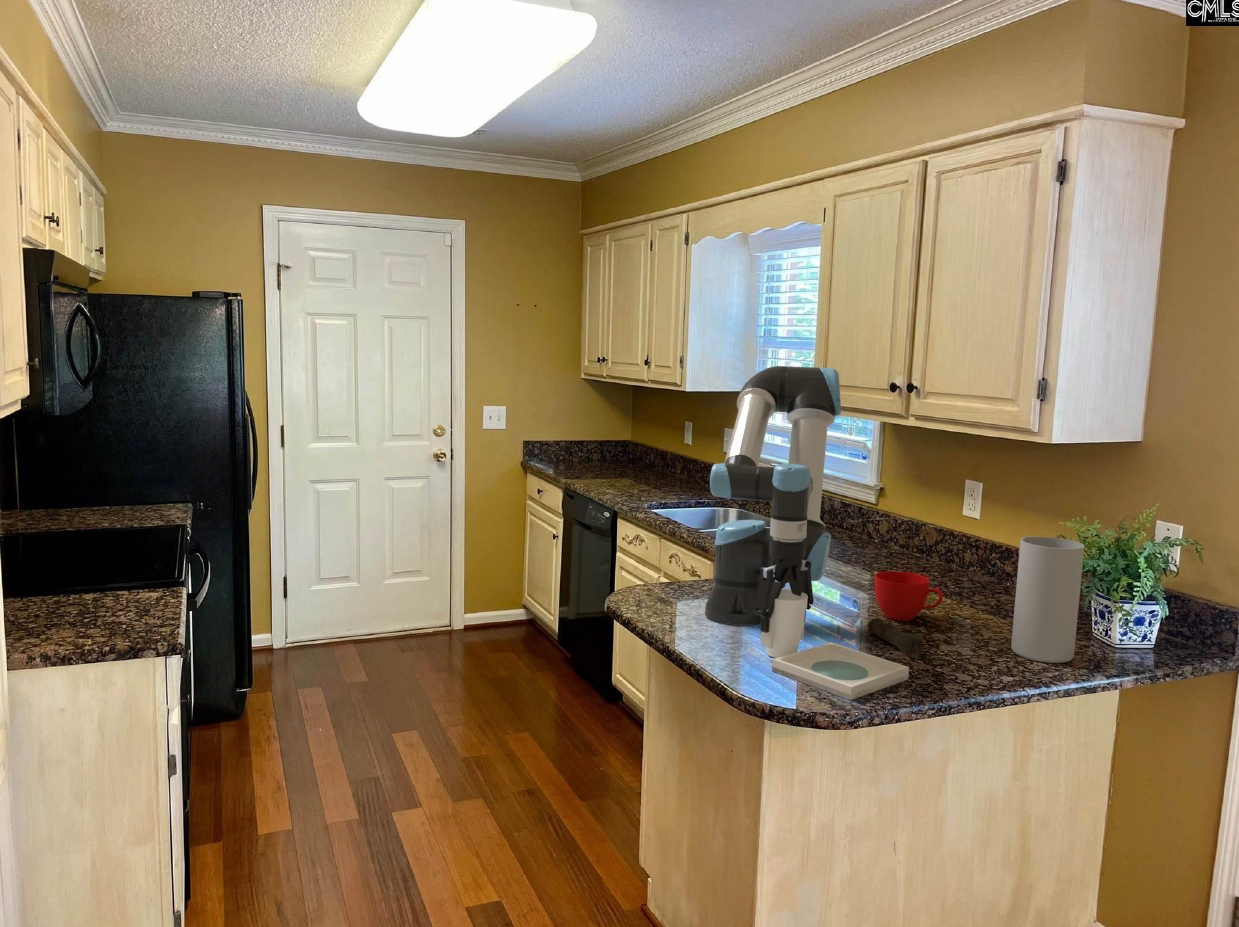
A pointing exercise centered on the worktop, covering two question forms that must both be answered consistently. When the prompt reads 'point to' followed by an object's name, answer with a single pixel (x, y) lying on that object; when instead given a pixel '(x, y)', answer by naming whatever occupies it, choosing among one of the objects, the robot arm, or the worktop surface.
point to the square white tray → (840, 670)
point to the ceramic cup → (902, 594)
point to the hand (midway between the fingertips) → (782, 642)
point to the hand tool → (896, 638)
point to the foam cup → (787, 623)
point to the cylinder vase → (1047, 599)
